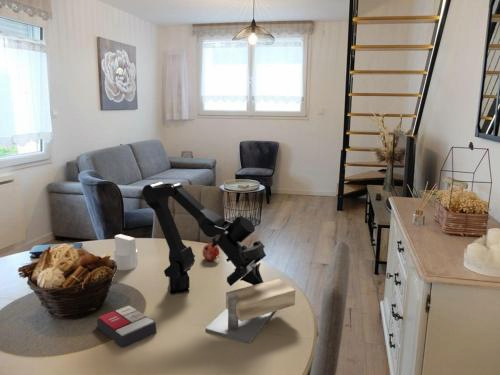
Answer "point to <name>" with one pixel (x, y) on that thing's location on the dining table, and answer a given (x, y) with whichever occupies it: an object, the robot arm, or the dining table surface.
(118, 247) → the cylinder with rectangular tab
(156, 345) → the dining table surface
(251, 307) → the beige wooden block
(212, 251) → the pomegranate
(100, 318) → the red and grey box
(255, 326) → the label board
